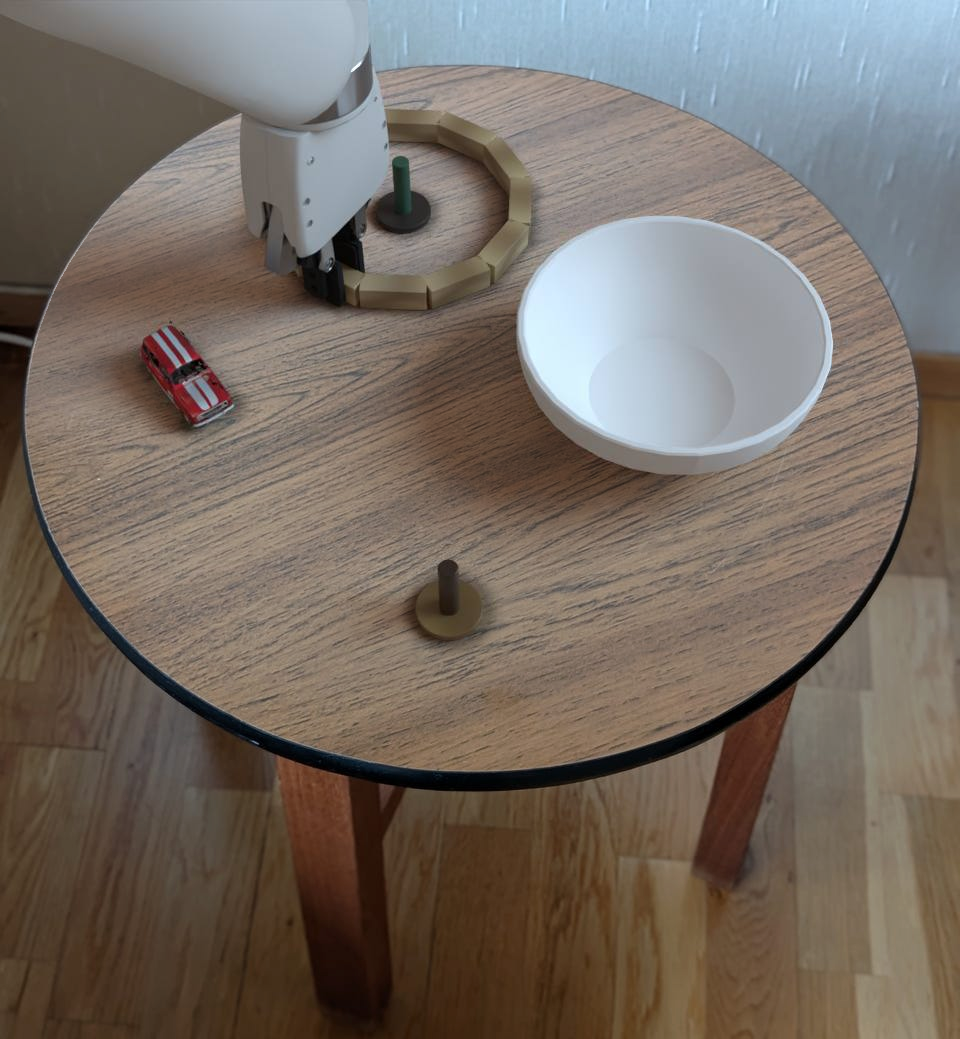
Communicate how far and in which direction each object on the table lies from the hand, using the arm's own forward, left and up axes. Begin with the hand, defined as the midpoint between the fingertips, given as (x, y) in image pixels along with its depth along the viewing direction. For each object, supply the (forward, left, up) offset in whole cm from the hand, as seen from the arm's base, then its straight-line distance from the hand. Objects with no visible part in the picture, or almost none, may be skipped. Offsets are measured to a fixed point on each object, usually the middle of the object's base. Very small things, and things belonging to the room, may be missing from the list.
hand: (335, 285), depth 94 cm
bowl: (+4, -24, 0) cm, 24 cm away
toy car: (-12, +3, 0) cm, 13 cm away
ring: (+9, 0, 0) cm, 9 cm away
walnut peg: (-17, -21, 0) cm, 27 cm away
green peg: (+9, 0, 0) cm, 9 cm away
